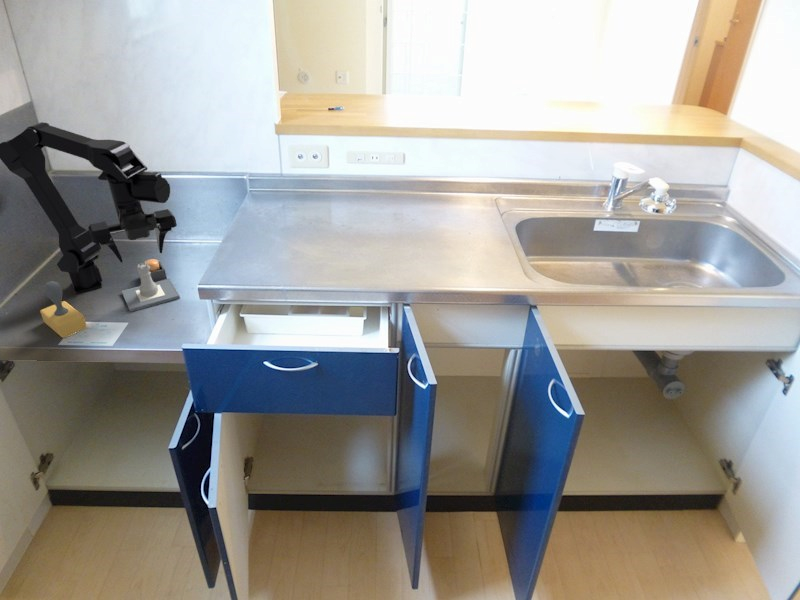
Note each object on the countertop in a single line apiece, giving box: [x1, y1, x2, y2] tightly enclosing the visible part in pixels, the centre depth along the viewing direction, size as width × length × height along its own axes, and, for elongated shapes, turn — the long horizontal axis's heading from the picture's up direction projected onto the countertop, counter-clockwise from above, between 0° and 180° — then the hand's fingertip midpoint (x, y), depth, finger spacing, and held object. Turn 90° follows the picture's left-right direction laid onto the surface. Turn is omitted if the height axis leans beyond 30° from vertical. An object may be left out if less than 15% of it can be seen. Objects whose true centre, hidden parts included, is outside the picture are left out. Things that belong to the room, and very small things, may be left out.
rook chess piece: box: [136, 262, 158, 296], centre depth 142 cm, size 4×4×8 cm
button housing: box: [150, 261, 168, 282], centre depth 152 cm, size 5×5×3 cm
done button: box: [143, 258, 160, 272], centre depth 151 cm, size 4×4×2 cm
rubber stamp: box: [39, 280, 88, 339], centre depth 130 cm, size 10×6×12 cm, turn 50°
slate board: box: [121, 278, 181, 313], centre depth 145 cm, size 12×10×1 cm
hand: (141, 257), depth 139 cm, fingers open, 9 cm apart
